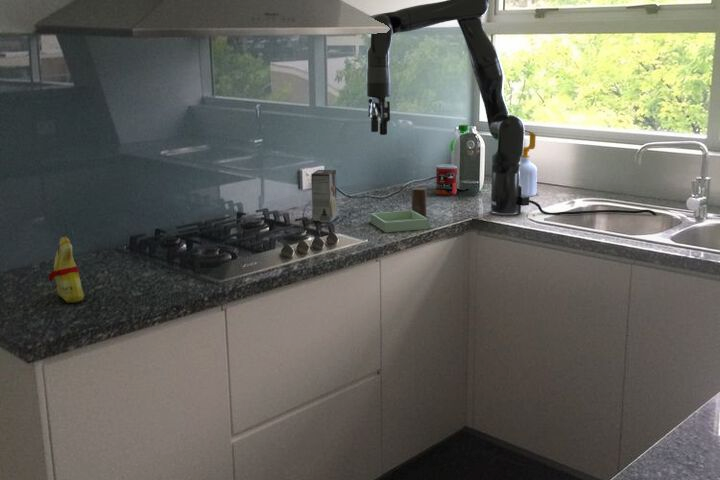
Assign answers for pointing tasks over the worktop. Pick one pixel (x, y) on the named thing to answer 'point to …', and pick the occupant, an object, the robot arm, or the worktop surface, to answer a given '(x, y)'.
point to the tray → (399, 221)
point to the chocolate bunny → (66, 273)
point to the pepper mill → (419, 200)
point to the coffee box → (324, 195)
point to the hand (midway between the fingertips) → (378, 133)
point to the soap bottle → (528, 170)
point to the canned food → (446, 180)
